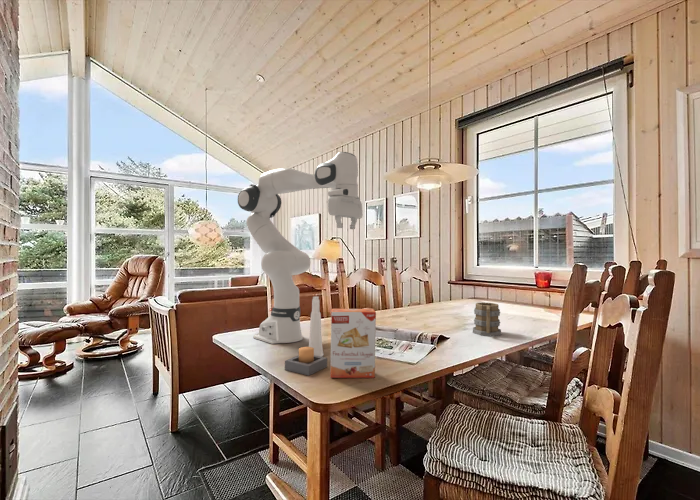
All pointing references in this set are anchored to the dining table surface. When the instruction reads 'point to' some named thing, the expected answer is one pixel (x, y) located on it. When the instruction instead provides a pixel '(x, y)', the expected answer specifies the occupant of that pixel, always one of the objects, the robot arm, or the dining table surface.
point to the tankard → (487, 319)
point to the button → (306, 354)
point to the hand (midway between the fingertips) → (346, 228)
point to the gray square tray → (305, 365)
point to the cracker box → (353, 343)
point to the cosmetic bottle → (316, 328)
